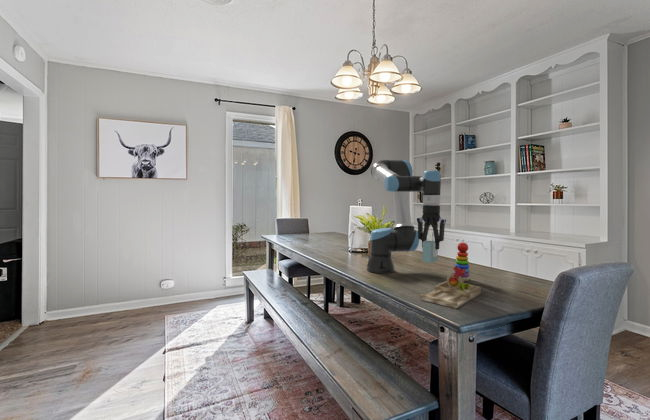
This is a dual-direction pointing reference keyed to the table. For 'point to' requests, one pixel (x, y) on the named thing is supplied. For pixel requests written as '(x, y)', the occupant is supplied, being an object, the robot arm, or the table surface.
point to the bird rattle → (454, 281)
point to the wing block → (428, 252)
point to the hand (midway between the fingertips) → (430, 255)
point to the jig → (451, 295)
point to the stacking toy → (463, 260)
